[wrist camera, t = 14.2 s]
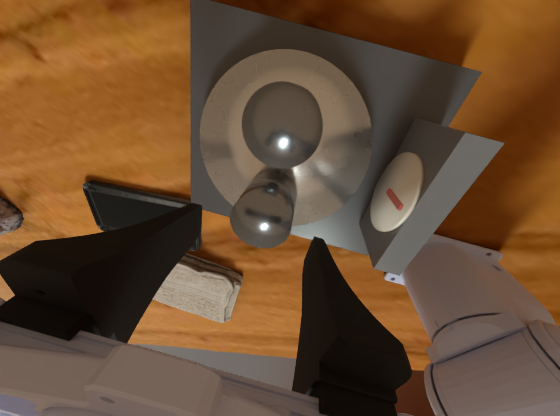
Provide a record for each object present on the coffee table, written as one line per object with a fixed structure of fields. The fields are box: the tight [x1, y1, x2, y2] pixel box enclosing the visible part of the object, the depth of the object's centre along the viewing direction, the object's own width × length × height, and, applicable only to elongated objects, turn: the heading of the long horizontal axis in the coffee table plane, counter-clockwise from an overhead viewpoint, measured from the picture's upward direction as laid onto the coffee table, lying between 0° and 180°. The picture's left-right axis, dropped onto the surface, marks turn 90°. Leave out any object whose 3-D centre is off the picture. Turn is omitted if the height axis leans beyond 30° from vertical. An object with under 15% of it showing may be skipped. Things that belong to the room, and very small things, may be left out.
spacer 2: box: [230, 170, 297, 248], centre depth 17 cm, size 4×4×5 cm
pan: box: [200, 49, 373, 226], centre depth 17 cm, size 14×14×1 cm
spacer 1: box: [242, 81, 323, 169], centre depth 13 cm, size 4×4×5 cm
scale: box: [190, 0, 504, 276], centre depth 17 cm, size 20×17×8 cm
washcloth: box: [153, 253, 243, 323], centre depth 32 cm, size 12×18×3 cm, turn 74°
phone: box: [83, 180, 202, 251], centre depth 27 cm, size 8×1×15 cm
